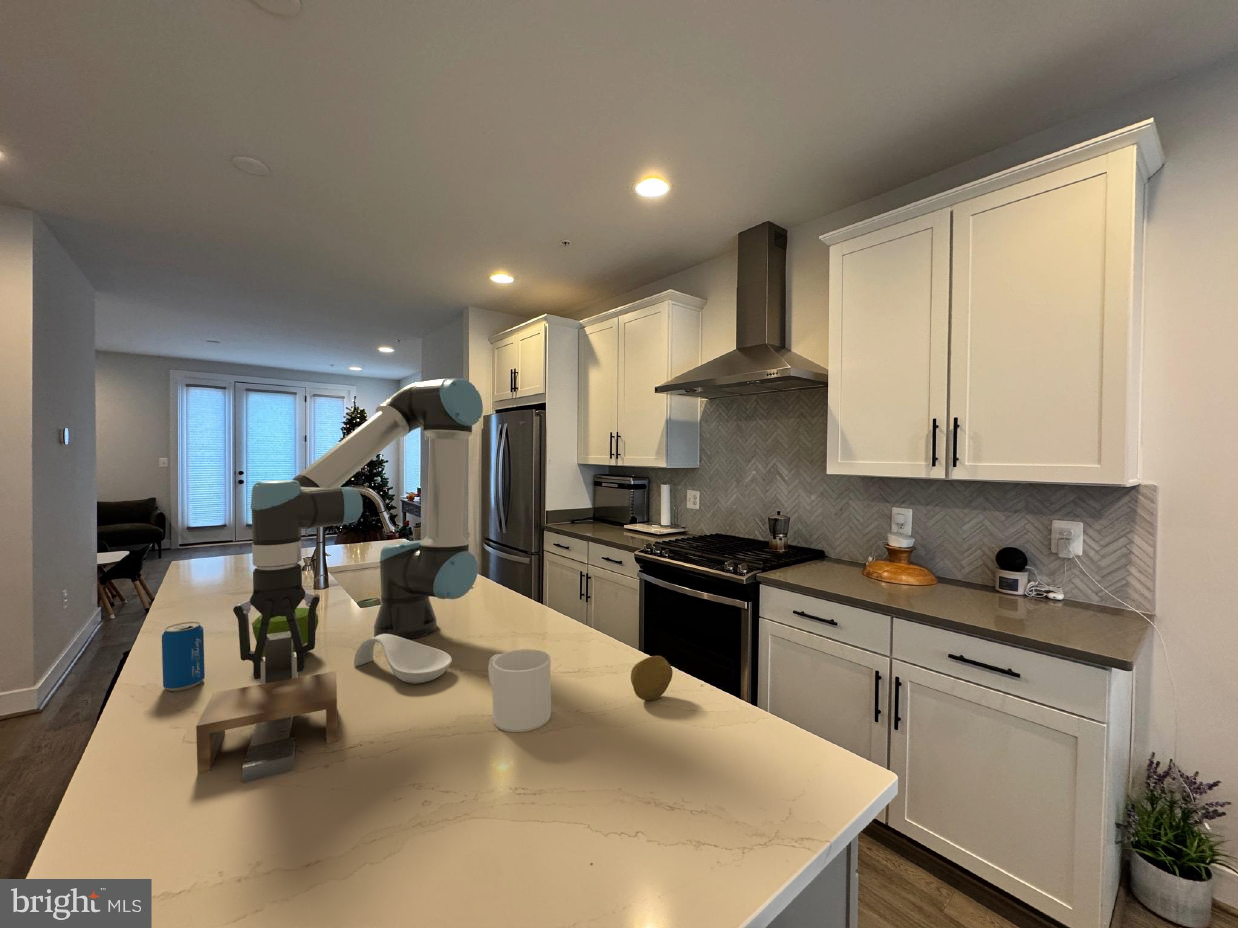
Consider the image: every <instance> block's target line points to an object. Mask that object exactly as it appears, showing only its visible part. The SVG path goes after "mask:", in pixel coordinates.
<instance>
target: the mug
mask: <svg viewBox="0 0 1238 928" xmlns="http://www.w3.org/2000/svg"><path fill="white" fill-rule="evenodd" d="M551 664H552V662H551V656H550V654H549V653H547V652H546V651H542V650H538V649H533V648H532V649H531V648H530V649H529V648H525V649H523V648H522V649H521V648H519V649H514V650H509V651H505V652H502V653H496V654H494V655H492V656H491V657H490V659H489V661H488V670H487V671H488V679H489V683H490V687H491V689H492V722H493V724H494V725H495V726H496V728H497V729H500V730H501V731H504V732H508V733H527V732H530V731H531V732H532V731H534V730H538V729H539V728H541V727H542V726H545V725H546V723H548V722H549V720H550V718H551V717H552V703H551V701H552V692H551V691H552V687H551V686H552V685H551V684H552V683H551V677H552V676H551V669H552V668H551V667H552V666H551Z"/></svg>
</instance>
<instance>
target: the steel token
mask: <svg viewBox="0 0 1238 928" xmlns="http://www.w3.org/2000/svg"><path fill="white" fill-rule="evenodd" d="M249 746H250V745H249ZM249 746H248V748H247V751H246V753H245V754H246V755H245V758H244V761H243V765H242V774H241V775H242V784H246V783H249V782H254V781H257V780H262V779H265V778H269V777H274V776H278V775H283V774H285V773H289V772H293V770H294V762H295V755H296V736H292V737H289V738H287V739H282V740H277V741H273V742H268V743H264V744H259V745H255V746H250V747H249Z"/></svg>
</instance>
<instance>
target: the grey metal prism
mask: <svg viewBox="0 0 1238 928" xmlns="http://www.w3.org/2000/svg"><path fill="white" fill-rule="evenodd" d="M292 654H293V640H292V636H291V633H290V631H288V632H281V633H274V634H267V637H266V639H265V682H266V683H271V682H277V681H283V680H288V679H292ZM293 719H294V716H292V717H287V718H282V719H277V720H272V721H268V722H263V723H258V724H255V726H254V727H255V728H254V729H253V734H252V736H251V740H250V743H249V746H248V747H250V746H255V745H259V744H264V743H268V742H273V741H277V740H282V739H287V738H290V734H291V730H292V729H291V728H292V723H293Z"/></svg>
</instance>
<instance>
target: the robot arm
mask: <svg viewBox="0 0 1238 928" xmlns="http://www.w3.org/2000/svg"><path fill="white" fill-rule="evenodd" d="M482 399H483V398H482V396H481V394H480V392H479V390H477V388H476V386H475V385H474V384H473V383H472V382H471V381H469V380H467V379H464V378H460V377H459V378H454V377H447V378H441V379H432V380H419V381H415V382H413V383H410V384H408V385H406V386H405V387H403V388H401V389H399V390H398V391H397V392H395V393H394V394H393V395H391V396H389V397H388V398H387V399H386V400H384V401H383V402H382V403H380V404H379V405H378V406H377V407H376V408H375V411H374V412H375V414H374V415H372V416H371V417H370V418H368V419H367V420H366V421H365V422H363V423H362V424H361V425H359V427H357V428H355V430H354V431H351V433H349V434H348V435H347V436H346V437H344V438H343V439H342V440H340V441H339V442H338V443H337V444H335V445H334V446H333V447H332V448H330V449H329V450H328V451H327V452H326V453H324V454H323V455H321V456H320V457H318V459H317V460H315V461H314V462H313V463H311V465H309V466H308V467H307V468H305V469H304V470H302V471H301V472H300V473H299V474H298V475H296V476H295V477H293V478H292V479H289V480H288V479H287V480H286V479H285V480H284V479H283V480H263V481H257V482H255V483H254V484H253V486H252V489H251V490H252V491H251V499H250V500H251V501H250V509H251V537H252V544H251V547H252V549H251V551H252V553H251V554H252V556H251V557H252V566H254V567H255V568H254V569H253V570H252V589H253V590H252V594H251V596H250V598H249V599H248V600H246V601H243V602H238V603H236V604H235V606H234V607H233V609H232V610H233V611H232V612H233V613H234V615H235V617H236V618H237V625H238V626H237V627H238V640H239V643H238V644H239V657H240V660H241V661H250V662H252V664H253V668H252V669H253V678H254V680H259V679H260V684H266V682H265V657H262V655H263V651H264V646H265V639H266V637H267V632H268V628H269V623H270V619H271V618H274V617H277V616H282V617H284V616H286V619H287V622H288V625H289V629H290V633H291V636H292V640H293V644H294V647H295V651H296V652H293V654H292V679H294V678H299V673H301V672H304V671H305V668H306V667H305V665H306V664H305V662H306V661H305V655H306V654H307V653H308V652H307V651H309V650H310V651H313V650H314V649H315V648H316V636H317V635H316V633H317V629H316V613H317V608H318V606H319V603H320V600H321V596H320V594H318V593H315V594H311V593H307V592H306V590H305V588H304V587H303V576H302V575H303V567H302V564H300V562H301V561H302V558H303V557H302V530H308V529H314V528H315V529H316V528H324V527H330V526H331V527H332V526H344V525H346V524H350V523H351V524H352V523H354V522H356V521H358V520H359V519H360V518H361V515H362V513H363V509H364V508H363V504H364V503H363V498H362V495H361V494H360V492H359V491H358V490H357V489H355V488H354V487H350V486H346V487H345V486H344V487H342V485H344V484H345V483H346V482H347V481H348V480H350V478H351V477H353V476H354V475H355V474H356V473H357V472H359V471H360V470H361V469H362V468H363V467H364V466H366V465H367V464H368V463H369V462H370V461H371V460H373V459H374V458H375V457H377V455H379V454H380V453H381V452H382V451H383V450H384V449H385V448H387V447H388V446H389V445H390V444H392V443H393V442H394V441H395V440H396V439H397V438H404V437H406V436H408V434H409V433H411V432H412V431H415V430H417V429H419V428H423V433H424V434H425V436H426V437H427V438H428V439H429V445H428V446H429V448H428V453H429V454H428V475H427V477H428V480H427V482H428V483H427V508H426V512H427V513H426V535H425V537H424V538H423V539H421V540H419V539H418V540H410V541H404V542H397V543H393V544H388V545H387V544H386V545H384V546H383V547H382V548H381V550H380V556H379V568H380V569H379V573H380V606H379V610H378V613H377V616H376V619H375V622H374V624H373V625H374V626H373V634H374V637H376V636H378V635H381V634H391V635H395V636H398V637H402V638H405V639H408V640H411V639H416V638H420V637H423V636H427V635H428V634H431V633H433V632H434V631H435V630H436V629H437V625H438V624H437V623H438V622H437V616H436V613H435V611H434V607H433V605H432V602H431V600H430V597H434V598H437V599H441V600H457V599H460V598H462V597H464V596H465V595H466V594H467V593H469V591H471V588H472V587H473V586H474V584H475V582H476V580H477V577H478V574H479V572H478V571H479V562H478V560H477V559H476V556H475V555H474V554H473V553H471V552H470V551H469V550H470V548H469V546H470V544H469V543H470V542H469V541H468V540H467V539H466V538H465V536H464V506H465V505H464V503H465V479H466V478H465V475H466V473H465V472H466V471H465V470H466V465H465V464H466V445H467V443H466V441H467V440H468V439H469V437H471V436H472V435H473V426H475V425H476V424H477V423H478V422H480V419H481V418H482V415H483V413H484V412H483V411H484V405H483V400H482ZM303 600H304V601H305V606H306V607H307V608H309V610H308V642H307V643H305V644H303V640H302V636H301V632H300V629H299V625H298V621H297V618H296V612H295V609H296V608H299V605H300V604H301V603H302V602H303ZM251 607H253V608H254V609H255V610H256V611H258V613H260V615H262V620H261V625H260V629H259V634H258V638H257V642H256V644H255V649H254V650H251V635H250V622H249V621H250V620H249V619H250V618H249V613H250V612H251ZM310 651H309V652H310ZM306 652H307V653H306ZM305 653H306V654H305Z"/></svg>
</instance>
